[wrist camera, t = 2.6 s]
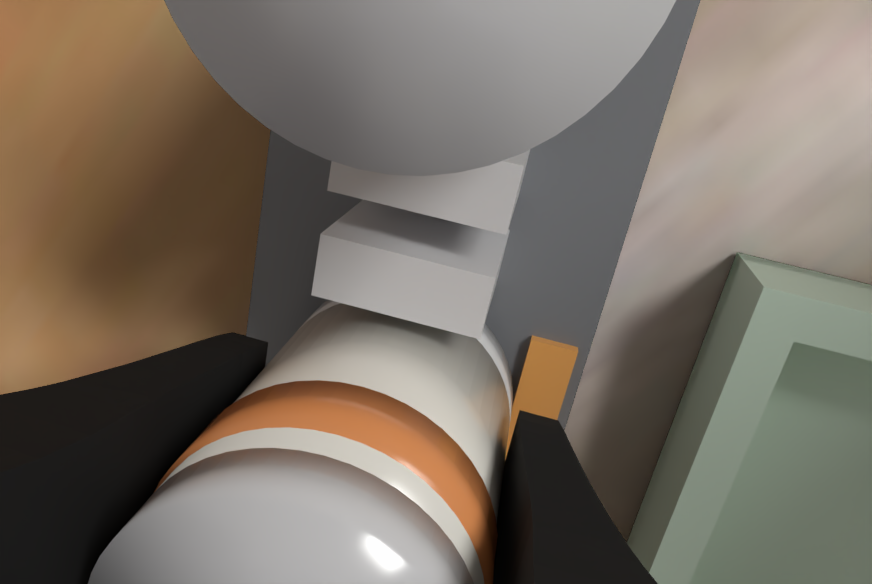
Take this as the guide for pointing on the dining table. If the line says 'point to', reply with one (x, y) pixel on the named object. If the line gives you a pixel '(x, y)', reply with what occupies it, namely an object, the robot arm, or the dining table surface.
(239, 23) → the fuse
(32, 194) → the dining table surface
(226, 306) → the dining table surface
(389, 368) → the cylinder
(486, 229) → the fuse holder
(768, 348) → the tray
